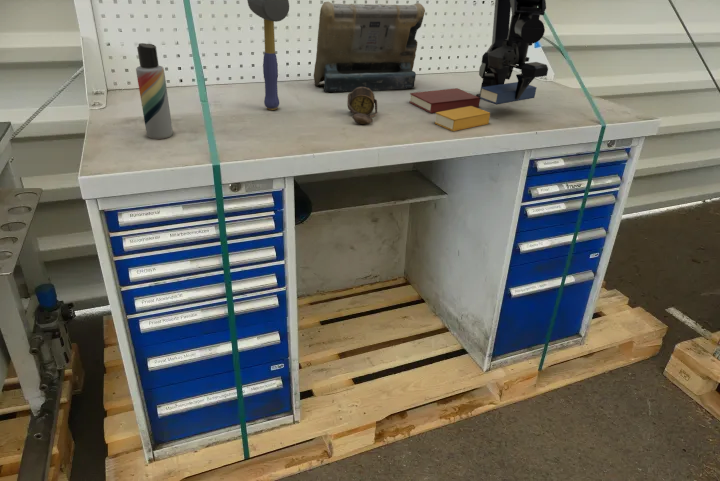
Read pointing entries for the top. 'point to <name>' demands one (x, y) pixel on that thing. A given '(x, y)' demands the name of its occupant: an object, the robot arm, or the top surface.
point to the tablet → (367, 46)
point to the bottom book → (443, 100)
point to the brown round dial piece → (362, 105)
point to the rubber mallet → (270, 44)
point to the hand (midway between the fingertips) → (507, 95)
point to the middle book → (505, 93)
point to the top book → (462, 118)
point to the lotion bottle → (153, 93)
